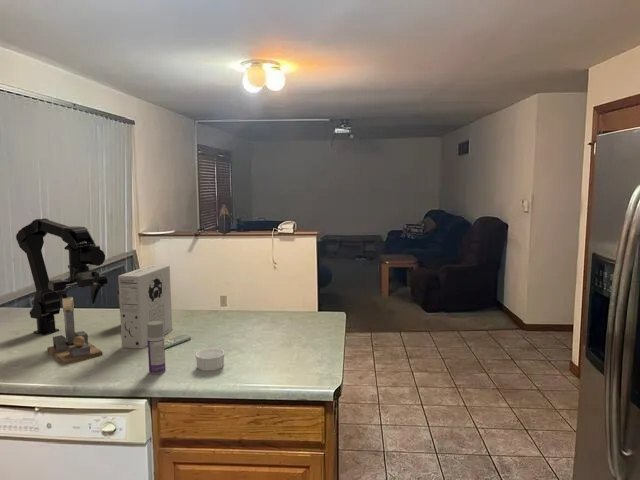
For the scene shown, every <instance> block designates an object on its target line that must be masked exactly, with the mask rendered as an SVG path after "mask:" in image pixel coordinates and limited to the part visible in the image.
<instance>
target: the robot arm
mask: <svg viewBox="0 0 640 480" xmlns="http://www.w3.org/2000/svg"><path fill="white" fill-rule="evenodd" d="M88 230H89V229H88V228H87V227H85V226H75V225H74V226H72V225H71V226H69V225H66V224H63V223H59V222H56V221H54V220H49V218H44V217H43V218H37V219H34V220H32V222H31V223H29V224H27V225H25V226H24V227H22V228H21V229H19V230H18V231H17V233H16V234H15V238H16V241H17V242H16V243H18V247H19V248H20V249H21V250H22V251H23V252H24V253H25V254H26V257H27V260H28V264H29V269H30V272H31V275H32V280H33V283H34V286H35V291H36V292H35V295H34V298H33V304H34V305H33V307H32V308H31V309H30V311H29V317H30V318H31V319H35V320H36V330H34V331H33V334H37V335H41V336H44V335H49V334H53V333H55V332H59V331H60V329H59V328H56V320H55V319H56V317H55V315H59V314H60V311H61V307H62V303H63V301H62V298H66V297H68V296H67V293H68V290H67V289H66V288H68V287H72V286H79V288H86V287H90V300H91V304H95V302H96V298H97V296H98V293H99V291H100V290H101V288H102V287H105V285H107V284H109V279H108V278H109V277H108V276H107V275H105V274H102V273H100V272H99V271H98V270H94V271H90V267H89V266H94V267H95V266H97V267H98V266H102V265H103V264H104V262H105V259H106V254H105V252H104V251H103V250H102V249H101V246H100V245H96V243H95V240H94V238H93V237H92V235H91V233H90V231H88ZM48 234H49V235H52V236H55V237H58V238H60V239H61V241H63V242H64V243H65V244H67V245H65V247H63V248H64V250H66V251H68V264H67V269H69V276H68V280H63V279H51V280H50V278H49V274H48V270H47V268H46V263H45V259H44V256H43V255H44V254H43V252H42V250H43V246H44V244H45V241H44V240H45V239H44V237H46V235H48Z"/></svg>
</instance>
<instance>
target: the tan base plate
mask: <svg viewBox="0 0 640 480" xmlns="http://www.w3.org/2000/svg"><path fill="white" fill-rule="evenodd" d="M52 343H53V344H52V345H53V346H47V348H46V349H47V352H48V353H50V354H51V355H52V356H53V357H54V358H56V359H57V361H59V362H60V363H61V364H62V365H65V364H70V363H74V362H78V361H82V360H86V359H87V360H88V359H91V358H96V357H100V356H103V351H102V350H101V349H100V348H98V347H96V346H95V345H93V343H90V342H89V339H88V332H86V331H84V330H81V331H75V338H74V340H73V343H74V345H70V346H66V336H65V335H63V334H62V335H61V334H60V335H55V336H52Z"/></svg>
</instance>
